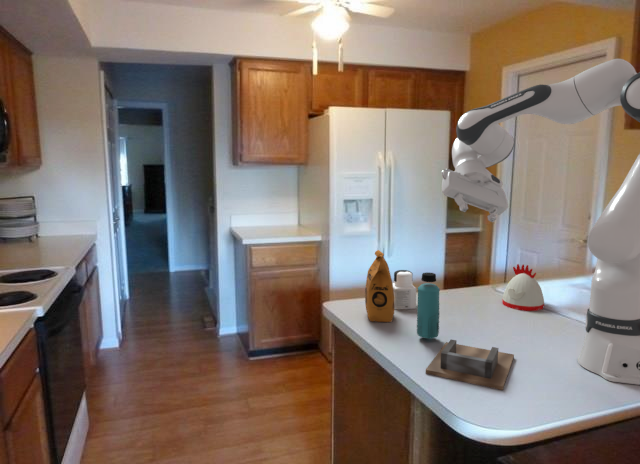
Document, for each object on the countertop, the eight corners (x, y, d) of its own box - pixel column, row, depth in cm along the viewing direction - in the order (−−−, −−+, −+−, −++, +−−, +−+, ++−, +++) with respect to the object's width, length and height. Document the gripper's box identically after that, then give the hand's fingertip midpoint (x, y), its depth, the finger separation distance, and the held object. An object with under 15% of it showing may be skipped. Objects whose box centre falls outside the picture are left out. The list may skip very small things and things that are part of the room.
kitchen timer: (512, 297, 179) (515, 259, 176) (549, 305, 169) (552, 264, 166) (495, 304, 169) (497, 264, 167) (533, 313, 159) (536, 271, 157)
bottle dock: (513, 358, 124) (514, 340, 123) (502, 390, 106) (503, 369, 106) (445, 345, 132) (446, 328, 132) (425, 373, 115) (426, 354, 114)
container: (389, 303, 172) (390, 268, 170) (409, 302, 173) (410, 268, 171) (395, 309, 164) (395, 274, 162) (416, 308, 165) (417, 273, 163)
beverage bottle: (439, 344, 133) (441, 276, 130) (415, 342, 134) (417, 275, 131) (438, 336, 139) (440, 271, 136) (415, 334, 141) (417, 270, 138)
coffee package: (363, 322, 152) (364, 256, 148) (365, 310, 164) (365, 249, 160) (394, 323, 150) (395, 257, 147) (393, 311, 162) (394, 249, 159)
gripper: (448, 159, 130) (453, 196, 122) (506, 182, 136) (516, 219, 127) (435, 174, 135) (439, 210, 126) (492, 195, 140) (500, 231, 132)
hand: (478, 215), depth 127 cm, fingers open, 8 cm apart
